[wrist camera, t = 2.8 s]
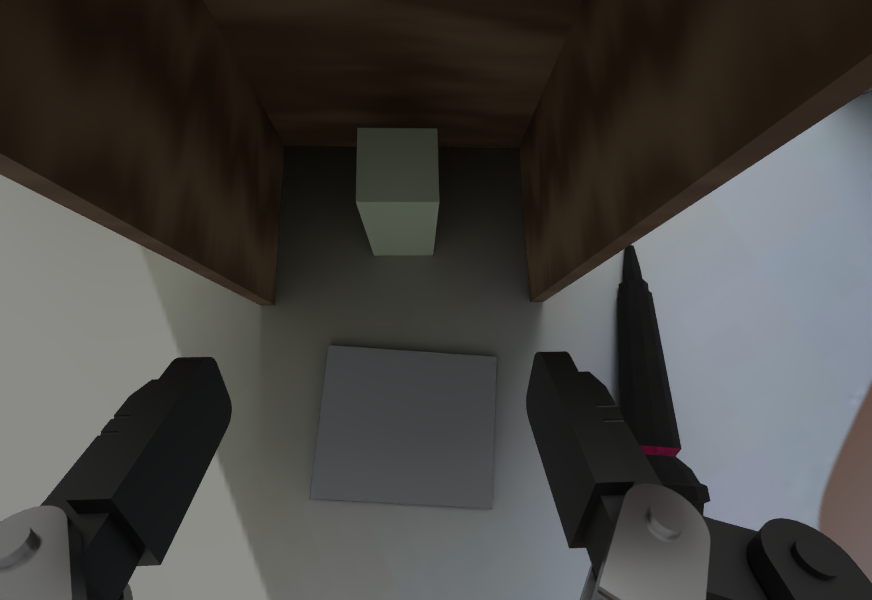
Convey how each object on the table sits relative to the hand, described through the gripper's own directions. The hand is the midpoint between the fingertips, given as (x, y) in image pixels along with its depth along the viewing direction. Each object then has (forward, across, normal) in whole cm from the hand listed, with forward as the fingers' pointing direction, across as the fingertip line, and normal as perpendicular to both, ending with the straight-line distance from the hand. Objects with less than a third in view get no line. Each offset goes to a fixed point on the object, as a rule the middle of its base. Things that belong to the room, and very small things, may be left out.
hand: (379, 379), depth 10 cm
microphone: (+13, -17, +13) cm, 26 cm away
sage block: (+21, 0, +5) cm, 22 cm away
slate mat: (+11, 0, +15) cm, 19 cm away
